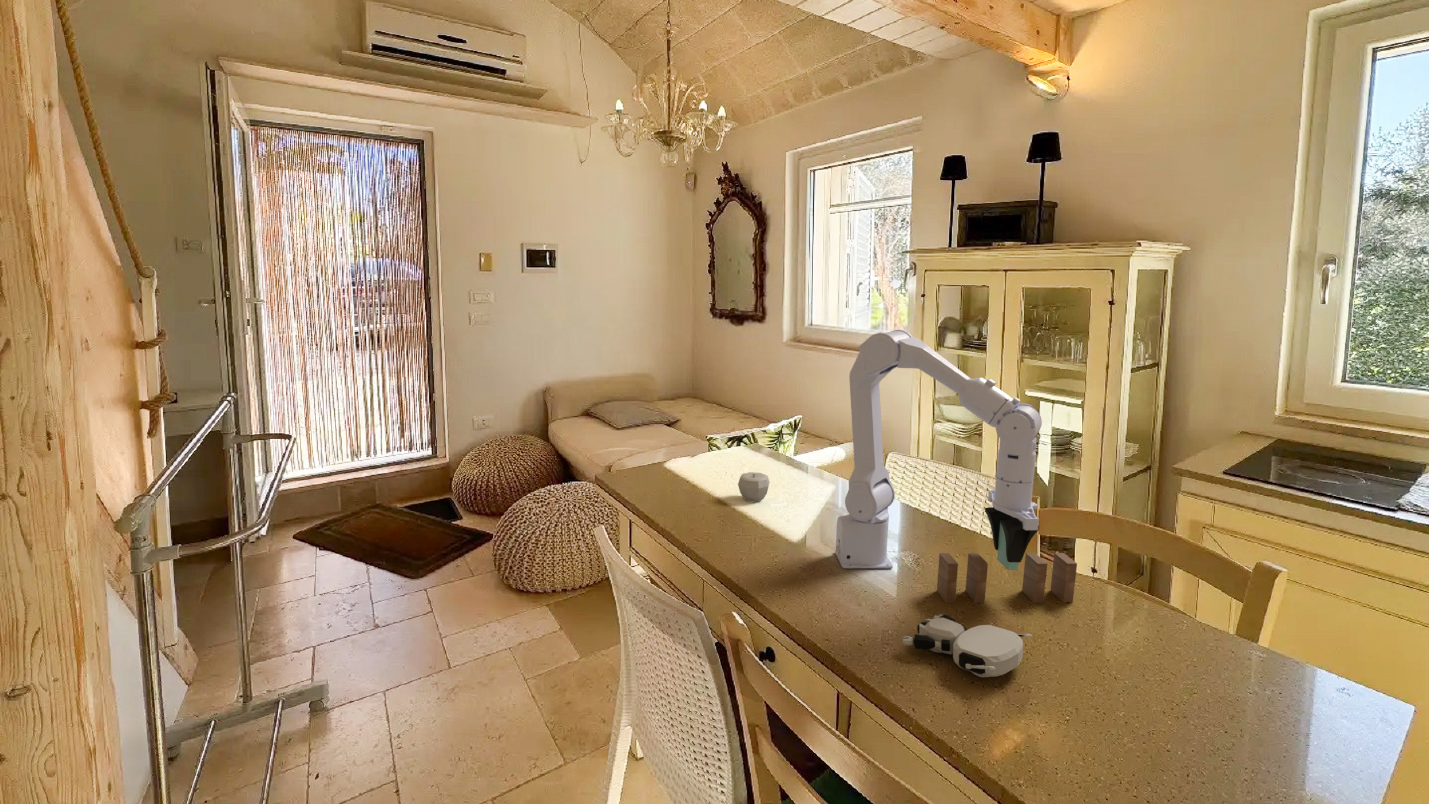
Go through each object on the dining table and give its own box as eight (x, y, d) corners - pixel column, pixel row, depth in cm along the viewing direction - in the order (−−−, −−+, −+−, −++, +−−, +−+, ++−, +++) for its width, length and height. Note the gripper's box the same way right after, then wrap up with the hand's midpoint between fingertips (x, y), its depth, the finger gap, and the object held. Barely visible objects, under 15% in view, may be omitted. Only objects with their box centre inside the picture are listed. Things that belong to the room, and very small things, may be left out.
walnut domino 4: (1063, 602, 117) (1067, 563, 116) (1050, 590, 122) (1054, 552, 120) (1072, 602, 117) (1077, 563, 116) (1059, 590, 122) (1063, 552, 120)
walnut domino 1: (945, 602, 117) (948, 563, 116) (936, 590, 121) (939, 553, 120) (955, 602, 117) (958, 563, 116) (945, 590, 121) (948, 553, 120)
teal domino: (1006, 559, 120) (1009, 520, 119) (1017, 570, 116) (1021, 530, 115) (997, 559, 120) (1000, 520, 119) (1008, 570, 116) (1011, 530, 115)
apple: (731, 501, 167) (731, 474, 166) (747, 492, 174) (747, 467, 173) (760, 507, 163) (761, 480, 162) (775, 498, 170) (776, 472, 168)
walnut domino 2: (975, 602, 117) (978, 563, 116) (965, 590, 121) (968, 553, 120) (984, 602, 117) (987, 563, 116) (974, 590, 121) (977, 552, 120)
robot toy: (896, 659, 101) (998, 697, 91) (896, 630, 101) (999, 664, 90) (937, 630, 110) (1035, 661, 99) (937, 602, 109) (1036, 631, 99)
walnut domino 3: (1033, 602, 117) (1037, 563, 116) (1022, 590, 122) (1025, 552, 120) (1043, 602, 117) (1047, 563, 116) (1031, 590, 122) (1034, 552, 120)
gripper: (1060, 491, 108) (1052, 573, 111) (1018, 466, 123) (1012, 539, 125) (1015, 491, 108) (1008, 573, 111) (979, 466, 122) (973, 539, 125)
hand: (1007, 555), depth 118 cm, fingers closed on teal domino, 4 cm apart
